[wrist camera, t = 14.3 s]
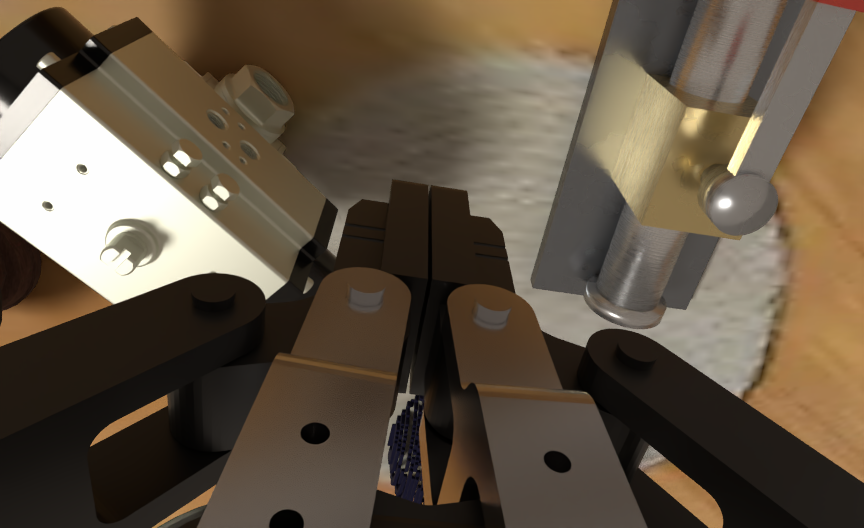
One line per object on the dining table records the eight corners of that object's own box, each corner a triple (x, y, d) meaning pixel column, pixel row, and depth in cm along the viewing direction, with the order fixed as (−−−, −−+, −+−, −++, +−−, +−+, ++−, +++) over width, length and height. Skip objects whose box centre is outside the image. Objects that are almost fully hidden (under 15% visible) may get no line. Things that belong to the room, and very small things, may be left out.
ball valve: (380, 175, 43) (353, 330, 28) (295, 245, 46) (229, 421, 31) (166, -44, 36) (-26, 4, 21) (82, 55, 39) (-140, 161, 24)
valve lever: (841, -137, 26) (877, -139, 24) (912, -119, 26) (953, -120, 24) (686, 211, 34) (703, 231, 32) (741, 220, 34) (761, 242, 32)
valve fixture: (530, 279, 48) (551, 361, 39) (646, -115, 34) (716, -116, 26) (680, 300, 49) (732, 385, 40) (848, -74, 35) (977, -62, 27)
